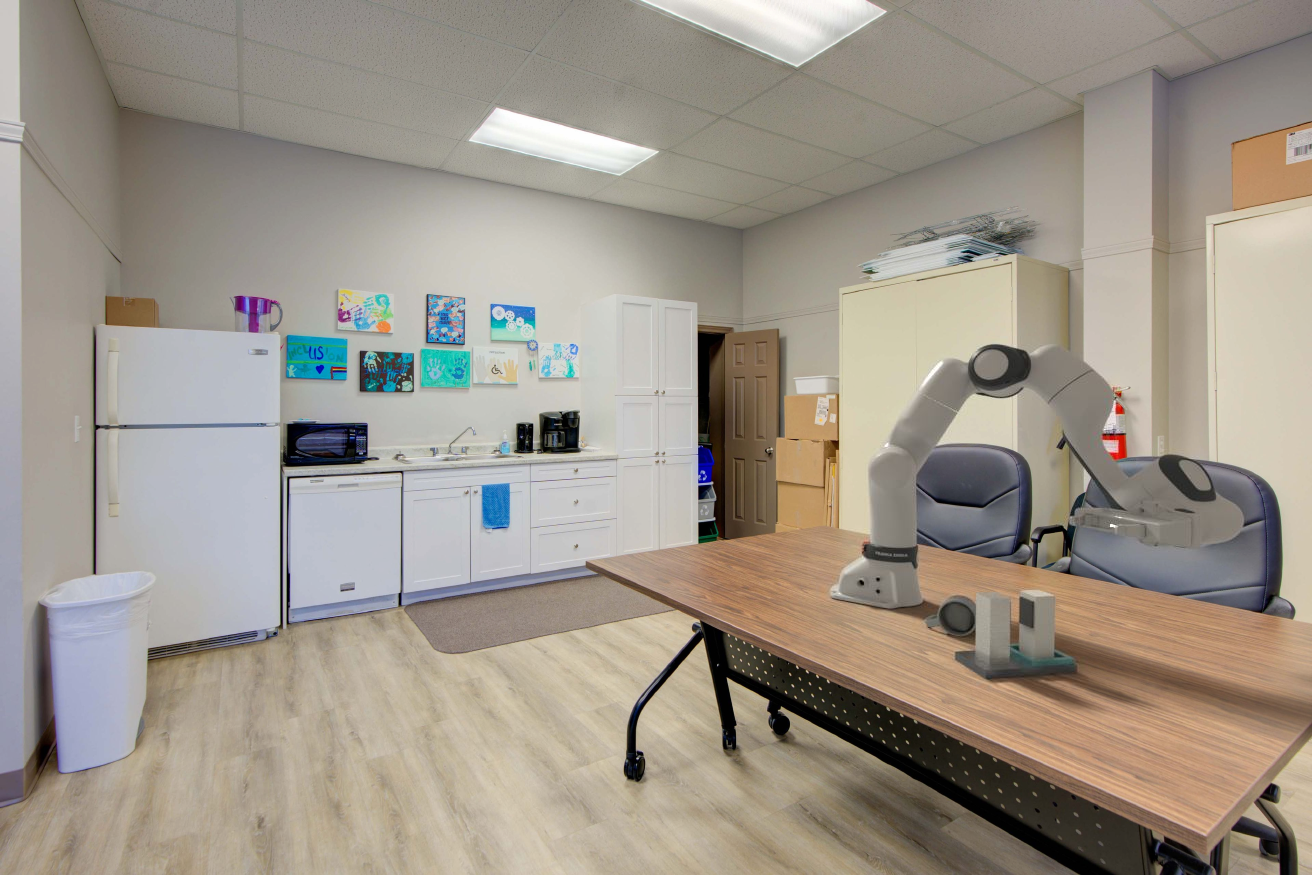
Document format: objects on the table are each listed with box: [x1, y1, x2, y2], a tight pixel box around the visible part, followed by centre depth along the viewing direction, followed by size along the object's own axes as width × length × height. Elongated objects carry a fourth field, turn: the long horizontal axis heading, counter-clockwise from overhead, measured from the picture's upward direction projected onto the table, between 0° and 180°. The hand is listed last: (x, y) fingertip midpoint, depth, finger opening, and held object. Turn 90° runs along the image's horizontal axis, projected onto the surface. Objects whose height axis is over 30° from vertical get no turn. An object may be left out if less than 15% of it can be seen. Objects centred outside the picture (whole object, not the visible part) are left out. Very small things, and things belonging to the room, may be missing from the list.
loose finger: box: [1018, 589, 1056, 659], centre depth 116 cm, size 4×4×12 cm
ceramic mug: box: [924, 594, 976, 637], centre depth 136 cm, size 11×8×8 cm
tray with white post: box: [954, 591, 1078, 680], centre depth 116 cm, size 18×9×14 cm, turn 98°
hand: (1091, 525), depth 117 cm, fingers open, 8 cm apart
